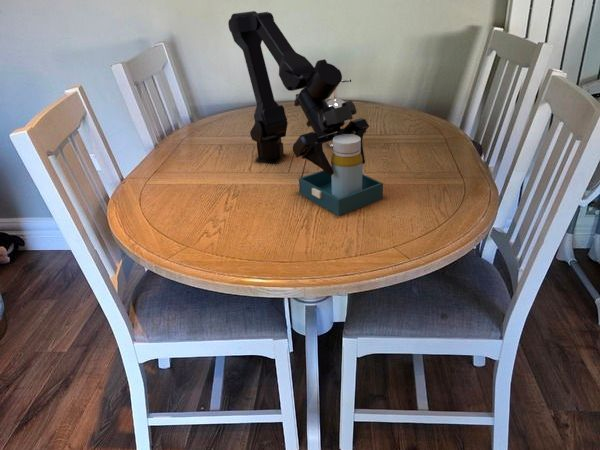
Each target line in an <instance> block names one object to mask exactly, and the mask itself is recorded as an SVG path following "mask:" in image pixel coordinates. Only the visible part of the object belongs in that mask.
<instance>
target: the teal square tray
mask: <svg viewBox="0 0 600 450" xmlns="http://www.w3.org/2000/svg"><path fill="white" fill-rule="evenodd" d="M298 189H299V191H298V193H299V194H300V195H302V196H303V197H305V198H307V199H309V201H311V202H314V203H315V204H317V205H319V206H320V207H322V208H324V209H326V210H327V211H329V212H331V213H332V214H334V215H336V216H338V217H341V216H343V215H346V214H348V213H350V212H353V211H356V210H358V209H361V208H363V207H365V206H369V205H371V204H373V203H376V202H378V201H380V200H383V197H384V183H383V182H381V181H379V180H377V179H374V178H372V177H370V176H368V174H366V173H364V172H362V190H361V191H358V192H355V193H353V194H350V195H347V196H345V197H342V198H337V197H335V196H333V195H332V178H331V175H329V174H328V173H326V172H325V171H324V170H320V171H317V172H313V173H310V174H308V175H305V176H302V177H299V178H298Z"/></svg>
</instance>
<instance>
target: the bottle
mask: <svg viewBox="0 0 600 450" xmlns="http://www.w3.org/2000/svg"><path fill="white" fill-rule="evenodd" d="M360 148H361V138H360V137H359V136H357V135H353V134H343V135H338V136H335V137H334V138H333V147H332V155H331V159H330V165H331V167H332V170H333V172H334V174H333V175H331V178H332V195H333V196H335V197H337V198H342V197H345V196H347V195H350V194H353V193H355V192H358V191H361V190H362V173H363V165H364V164H363V160H362V155H361V153H360V152H361V149H360ZM362 164H363V165H362Z"/></svg>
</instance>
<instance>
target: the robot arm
mask: <svg viewBox="0 0 600 450" xmlns="http://www.w3.org/2000/svg"><path fill="white" fill-rule="evenodd" d="M227 25H228V29H229V32H230V33H231V36H232V39H233V42H234V43H235V44H236V45H237V46H238V47H239V48H240V49H241V50H242V52H243V58H244V60H245V65H246V69H247V72H248V76H249V80H250V83H251V88H252V91H253V95H254V99H255V103H256V107H255V110H254V115H253V119H254V124H253V126H252V127H251V130H250V132H249V134H250V137H251V140H252V141H254V142H256V151H257V158H256V159H255V162H258V163H266V164H278V163H279V162H280V161H281V160H282V159H283V158H284V157H285V155H286V154H285V152H284V151H285V150H284V142H282V138H285V137H287V130H288V123H289V122H288V118H287V116H286V112H285V111H286V110H285V107H284V106H283V105H282V104H281V105H280V104H279V103H278V102H276V100H275V97H274V93H273V89H272V85H271V81H270V78H269V73H268V69H267V65H266V61H265V57H264V53H263V49H262V42H263V44H264V46H265V47H266V49H267V50H268V51H269V53H270V55H271V56H272V58H273V59H274V60H275V62H276V64H277V66H278V76H279V78H280V80H281V83H282V85H283V86H284V88H285V89H286V90H287V91H291V92H293V91H297V90H300V92H299V93H297V94H295V99H294V107H299V106H300V107H301V110H302V112H303V113H304V115H305V118H306V119H307V121H306V123H305V124H306V126H307V128H310V127H311V129H312V130H313V131H311V132H307V133H303V134H300V135H299V136H298V137H297V139H296V140H295V142H294V143H293V145H292V152H293V154H294V156H295V157H296V158H301V159H302V160H307V161H309V162H311V163H312V164H314V165H315V166H317V167H318V168H320V169H321V171H323V170H324V171H325V172H326V173H328V174H329V175H333V174H334V172H333V170H332V167H331V162H329V160H328V158H327V156H326V154H325V152H324V148H323V144H325V143H329V141H332V140H333V138H334V137H335V136H338V135H343V134H353V135H357V136H359V137H360V138H361V148H360V149H361V152H360V153H361V155H362V160H363V164H362V166H363V165H364V164H365V163H366V159H365V153H364V145H363V139H364V135H365V134H366V133H367V130H368V129H369V128H370V125H369V123H368V121H367V119H366V118H363V117H360V118H356V119H354V117H353V115H357V107H356V105H355V103H354V102H353V101H352V100H347V101H344V102H345V103H342V107H339V108H335V107H333V106H330V107H329V106H328V104H327V102H328V101H327V100H328V99H329V98H331V96H332V95H333V94H334V90H335V89H336V90H337V88H338V86H339V85H340V84H341V83H340V82H341V80H343V74H342V72H341V70H340V69H339V68H338V67H336V66H335V65H333V64H332V63H329V62H328V61H327V60H326V59H324V58H323V59H319V60H317V61H316V62H315V65H313V64H312V63H311V62H310V61H309V60H308V59H307V58H306V57H305V56H304V55H302V54H300V53H297V52H296V51H295V49H294V47H292V45H291V44H290V42H289V41H288V39H287V37H286V36H285V34H284V33H283V32H282V30H281V29H280V27H279V26H278V25H277V23H276V22H275V18H274V16H273V13H272V12H268V11H262V12H257V11H255V10H252V11H251V10H250V11H244V12H235V13H232V14H231V16H230V18H229V19H228V23H227ZM346 120H347V121H348V120H349V122H348V124H346V127H345V128H343V129H341V128H340V127H341V126H343V125H344V124H345V122H344V121H346ZM336 134H337V135H336Z"/></svg>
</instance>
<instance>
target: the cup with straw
mask: <svg viewBox="0 0 600 450" xmlns="http://www.w3.org/2000/svg"><path fill="white" fill-rule="evenodd" d="M351 82H352V79H350V78H349V79H342V80H341V82H340V83H339V84H341V83H343V84H344V83H351ZM326 102H327V104H328V106H329V107H330V106H333V107H335V108H339V107H342V103H345V102H346V101H344V100H343V99H340V98H338V97H337V88H336V89H335V90H334V92H333V98H332V99H330V100H329V101H326ZM344 122H345V124H344V125H343V126H341V127H340V128H341V129H343V128H345V127H346V126H347V123H348V120H346V121H344ZM336 135H337V134H336ZM328 146H329V147H330V148H333V140H332V141H329V142H328Z"/></svg>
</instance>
